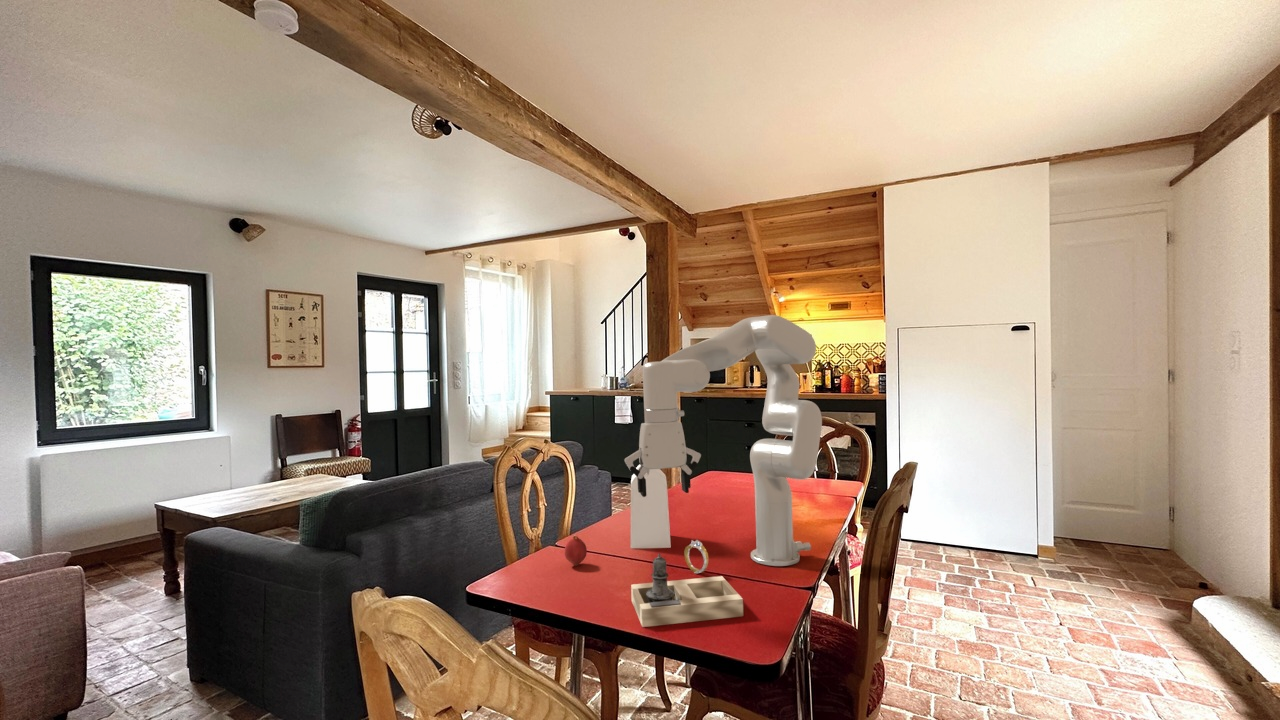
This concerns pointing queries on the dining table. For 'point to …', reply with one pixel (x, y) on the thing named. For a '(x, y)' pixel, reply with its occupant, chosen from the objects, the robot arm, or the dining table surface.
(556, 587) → the dining table surface
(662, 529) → the milk
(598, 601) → the dining table surface
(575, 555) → the onion
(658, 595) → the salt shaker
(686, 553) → the gemstone ring
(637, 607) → the wooden compartment tray
